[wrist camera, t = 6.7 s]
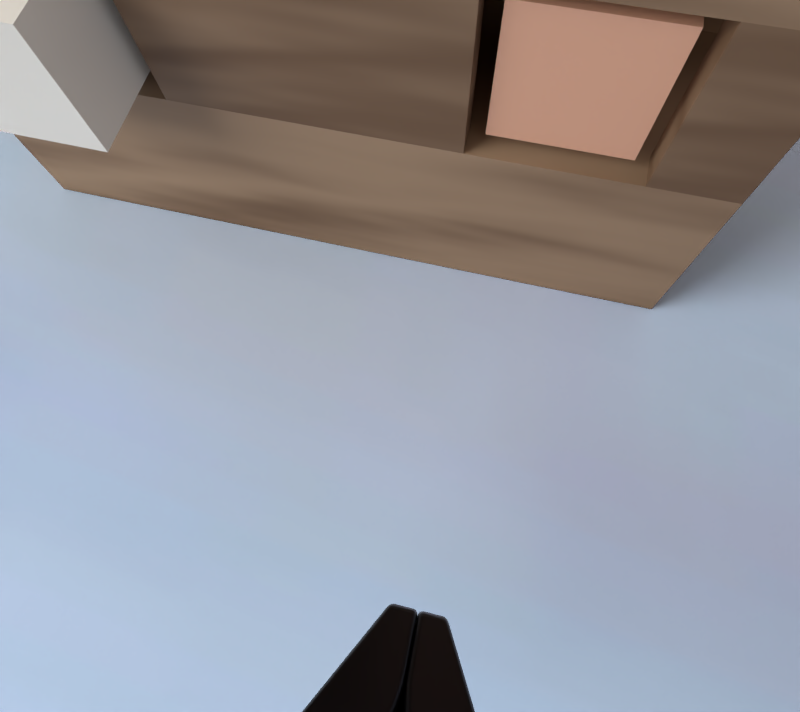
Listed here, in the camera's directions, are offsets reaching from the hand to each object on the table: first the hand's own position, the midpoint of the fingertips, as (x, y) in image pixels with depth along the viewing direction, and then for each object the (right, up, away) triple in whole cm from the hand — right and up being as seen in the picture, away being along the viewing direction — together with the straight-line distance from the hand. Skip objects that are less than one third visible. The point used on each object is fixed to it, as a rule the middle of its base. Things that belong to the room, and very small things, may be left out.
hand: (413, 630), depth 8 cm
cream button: (-10, +12, +9) cm, 18 cm away
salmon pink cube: (+5, +11, +8) cm, 15 cm away
